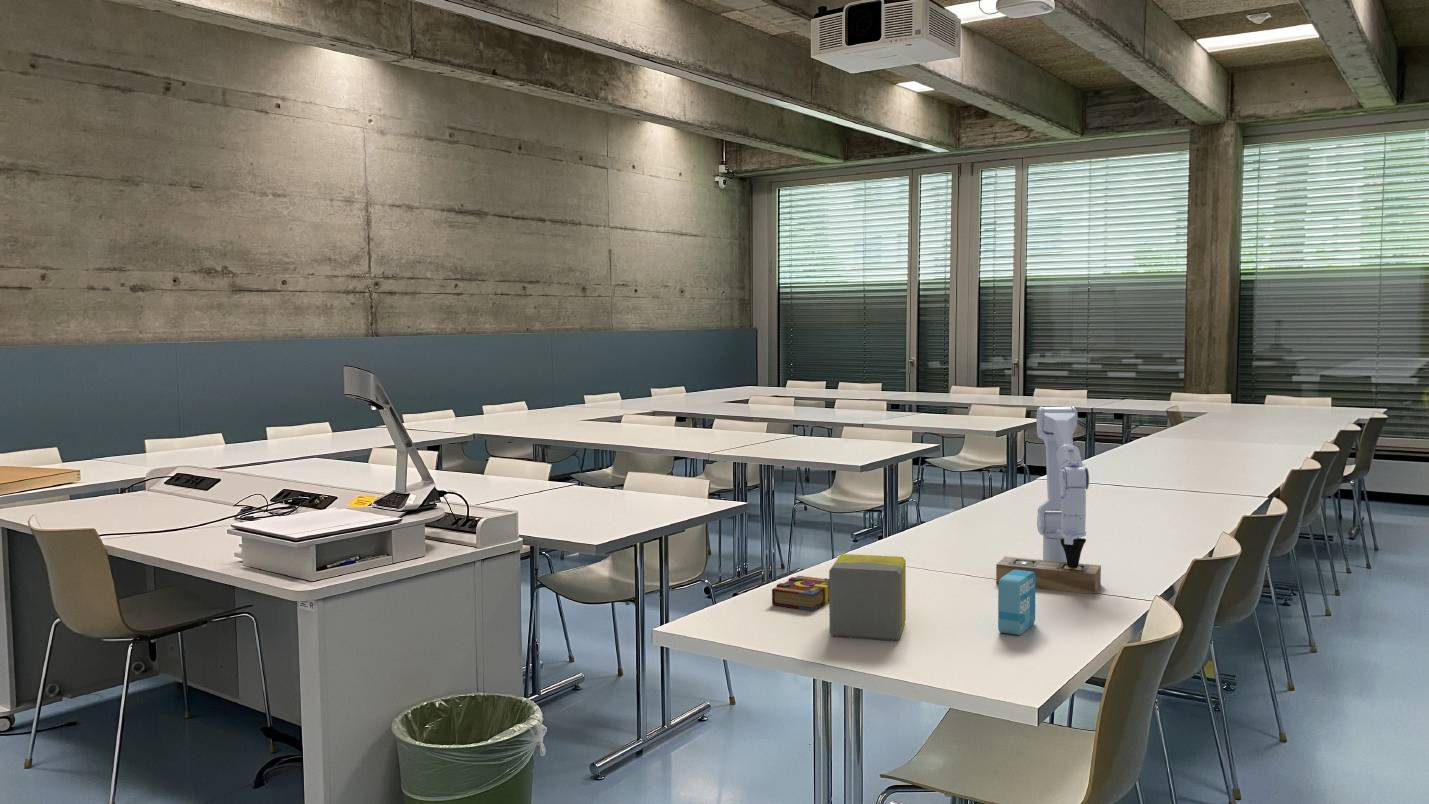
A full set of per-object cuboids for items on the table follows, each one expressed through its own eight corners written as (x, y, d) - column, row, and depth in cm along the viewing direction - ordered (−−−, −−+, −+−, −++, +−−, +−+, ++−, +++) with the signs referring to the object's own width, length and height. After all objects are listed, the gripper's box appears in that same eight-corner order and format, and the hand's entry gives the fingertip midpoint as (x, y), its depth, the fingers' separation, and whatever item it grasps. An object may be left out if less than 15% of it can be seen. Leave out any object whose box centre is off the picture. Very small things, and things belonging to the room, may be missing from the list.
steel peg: (1017, 577, 264) (1017, 560, 263) (1034, 578, 262) (1034, 561, 261) (1014, 580, 260) (1014, 563, 260) (1030, 582, 258) (1030, 565, 258)
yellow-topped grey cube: (909, 610, 236) (909, 547, 235) (899, 641, 213) (899, 571, 211) (845, 606, 240) (845, 544, 239) (829, 637, 217) (828, 568, 216)
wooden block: (1004, 574, 268) (1005, 556, 268) (1100, 584, 257) (1100, 565, 256) (996, 583, 259) (996, 564, 259) (1094, 594, 248) (1095, 573, 248)
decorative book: (770, 606, 242) (770, 586, 242) (799, 591, 256) (799, 571, 255) (813, 612, 236) (813, 592, 236) (841, 596, 250) (841, 576, 250)
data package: (1018, 637, 215) (1018, 582, 214) (997, 634, 217) (998, 579, 216) (1035, 623, 224) (1035, 570, 224) (1015, 620, 227) (1015, 567, 226)
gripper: (1062, 508, 262) (1061, 559, 263) (1051, 517, 249) (1051, 571, 250) (1090, 510, 259) (1090, 562, 260) (1081, 520, 246) (1081, 574, 247)
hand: (1072, 567), depth 255 cm, fingers closed, pressing on brass peg
